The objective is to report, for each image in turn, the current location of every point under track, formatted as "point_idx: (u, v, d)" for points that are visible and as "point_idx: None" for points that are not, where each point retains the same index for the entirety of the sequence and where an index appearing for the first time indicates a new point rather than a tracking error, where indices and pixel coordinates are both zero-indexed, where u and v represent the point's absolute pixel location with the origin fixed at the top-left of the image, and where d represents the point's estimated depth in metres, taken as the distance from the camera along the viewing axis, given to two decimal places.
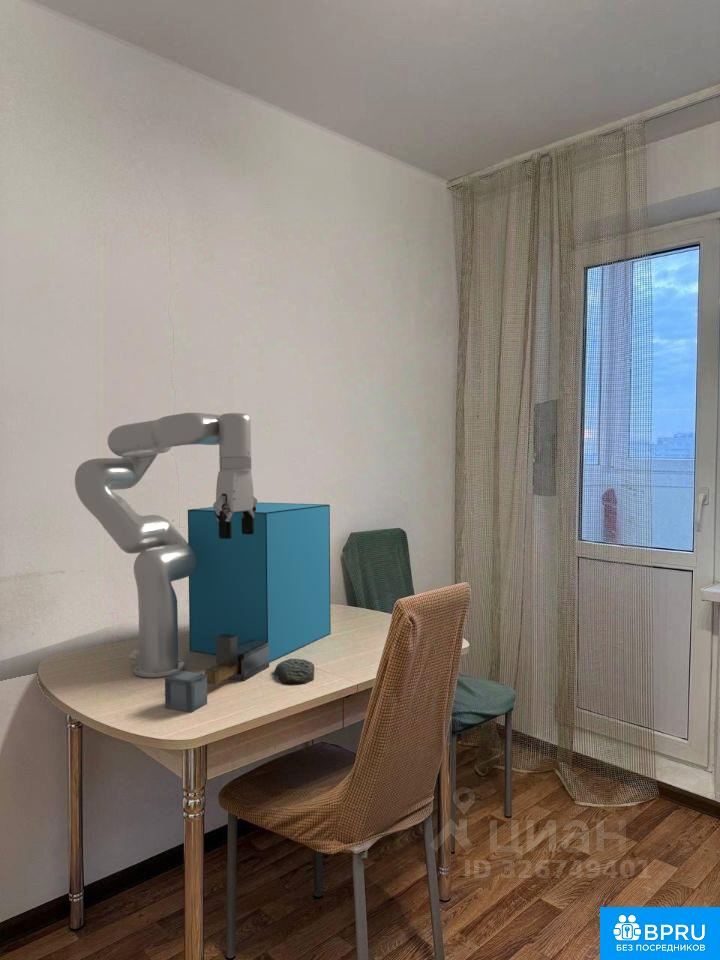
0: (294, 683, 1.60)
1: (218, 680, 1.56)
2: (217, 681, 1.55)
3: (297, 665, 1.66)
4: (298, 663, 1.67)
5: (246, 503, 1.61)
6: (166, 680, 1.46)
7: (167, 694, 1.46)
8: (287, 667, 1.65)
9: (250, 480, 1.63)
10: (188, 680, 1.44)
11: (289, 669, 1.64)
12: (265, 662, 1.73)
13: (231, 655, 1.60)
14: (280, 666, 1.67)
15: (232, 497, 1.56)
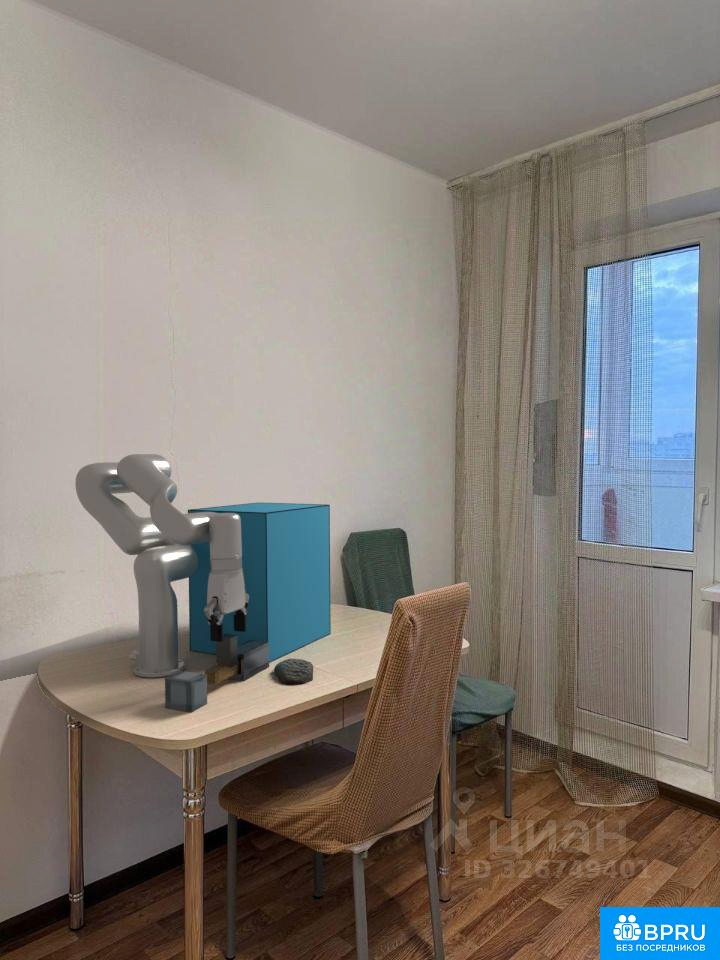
0: (293, 683, 1.60)
1: (218, 680, 1.56)
2: (217, 681, 1.55)
3: (296, 665, 1.66)
4: (297, 663, 1.67)
5: (238, 603, 1.61)
6: (166, 680, 1.46)
7: (167, 694, 1.46)
8: (286, 667, 1.65)
9: (241, 579, 1.62)
10: (188, 680, 1.44)
11: (288, 669, 1.64)
12: (265, 662, 1.73)
13: (231, 655, 1.60)
14: (279, 666, 1.67)
15: (223, 600, 1.56)
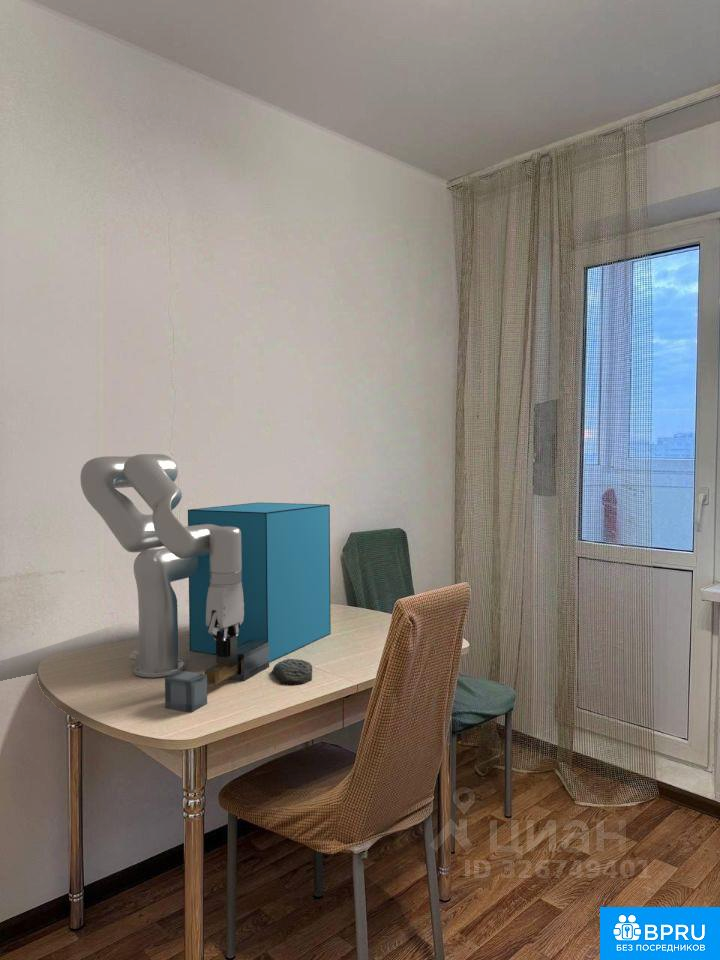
0: (292, 683, 1.60)
1: (218, 680, 1.56)
2: (217, 681, 1.55)
3: (295, 665, 1.66)
4: (296, 663, 1.67)
5: (236, 616, 1.61)
6: (166, 680, 1.46)
7: (167, 694, 1.46)
8: (285, 667, 1.64)
9: (241, 592, 1.63)
10: (188, 680, 1.44)
11: (287, 670, 1.63)
12: (265, 662, 1.73)
13: (231, 655, 1.60)
14: (278, 666, 1.67)
15: (222, 614, 1.56)
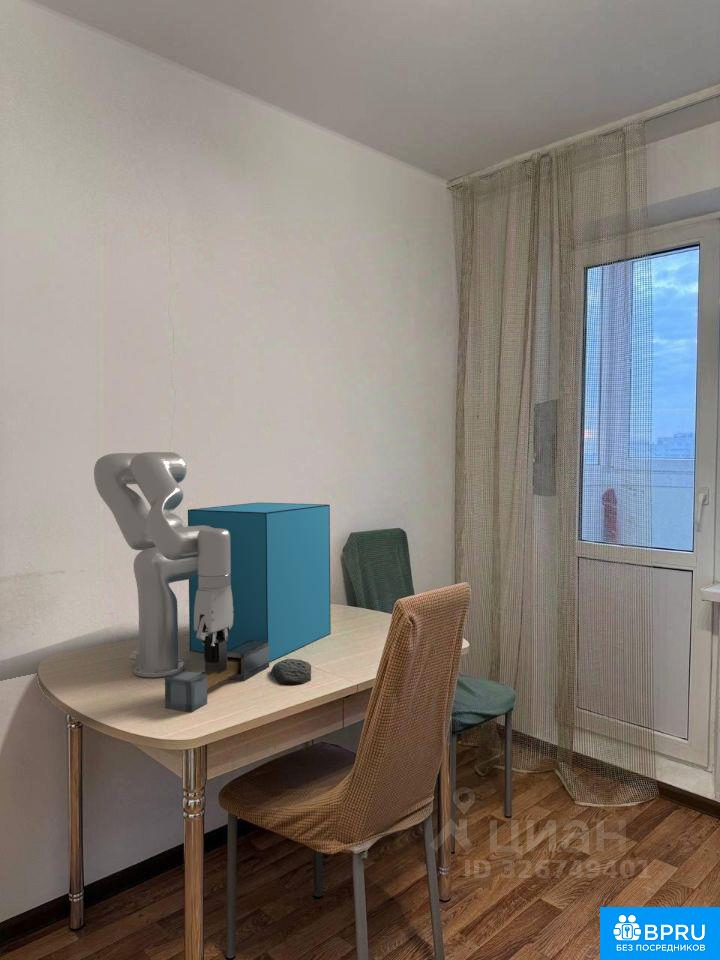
0: (292, 683, 1.60)
1: None
2: None
3: (294, 665, 1.66)
4: (295, 663, 1.67)
5: (225, 621, 1.57)
6: (166, 680, 1.46)
7: (167, 694, 1.46)
8: (284, 667, 1.64)
9: (230, 596, 1.58)
10: (188, 680, 1.44)
11: (286, 670, 1.63)
12: (265, 662, 1.73)
13: (220, 660, 1.55)
14: (277, 666, 1.66)
15: (210, 618, 1.52)
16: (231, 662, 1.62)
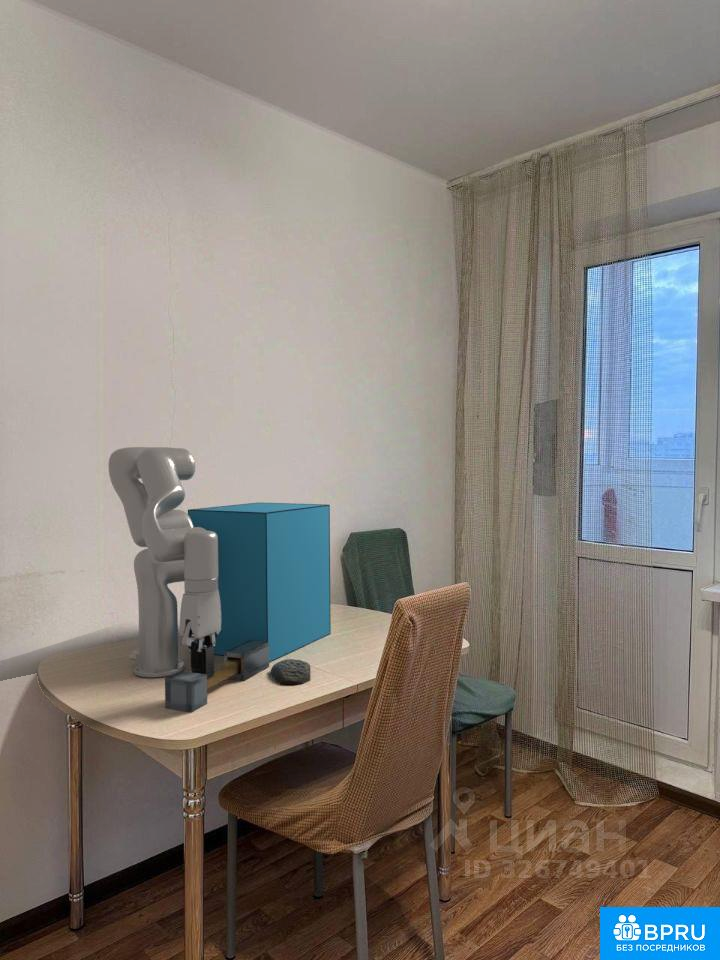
0: (291, 684, 1.60)
1: None
2: None
3: (293, 665, 1.66)
4: (294, 663, 1.67)
5: (212, 626, 1.52)
6: (166, 680, 1.46)
7: (167, 694, 1.46)
8: (283, 667, 1.64)
9: (217, 600, 1.54)
10: (188, 680, 1.44)
11: (285, 670, 1.63)
12: (265, 662, 1.73)
13: (207, 666, 1.51)
14: (276, 667, 1.66)
15: (196, 623, 1.47)
16: (219, 668, 1.57)
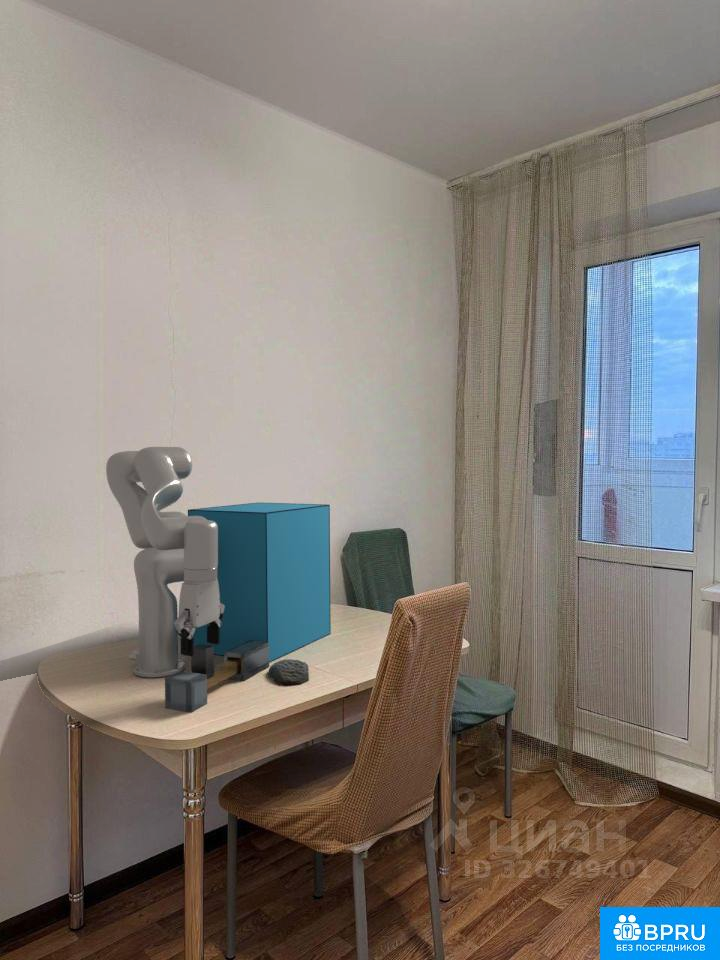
0: (290, 684, 1.60)
1: None
2: None
3: (291, 666, 1.65)
4: (292, 664, 1.66)
5: (211, 615, 1.53)
6: (166, 680, 1.46)
7: (167, 694, 1.46)
8: (281, 668, 1.64)
9: (216, 589, 1.54)
10: (188, 680, 1.44)
11: (283, 670, 1.63)
12: (265, 662, 1.73)
13: (207, 666, 1.51)
14: (274, 667, 1.66)
15: (195, 613, 1.47)
16: (219, 668, 1.57)
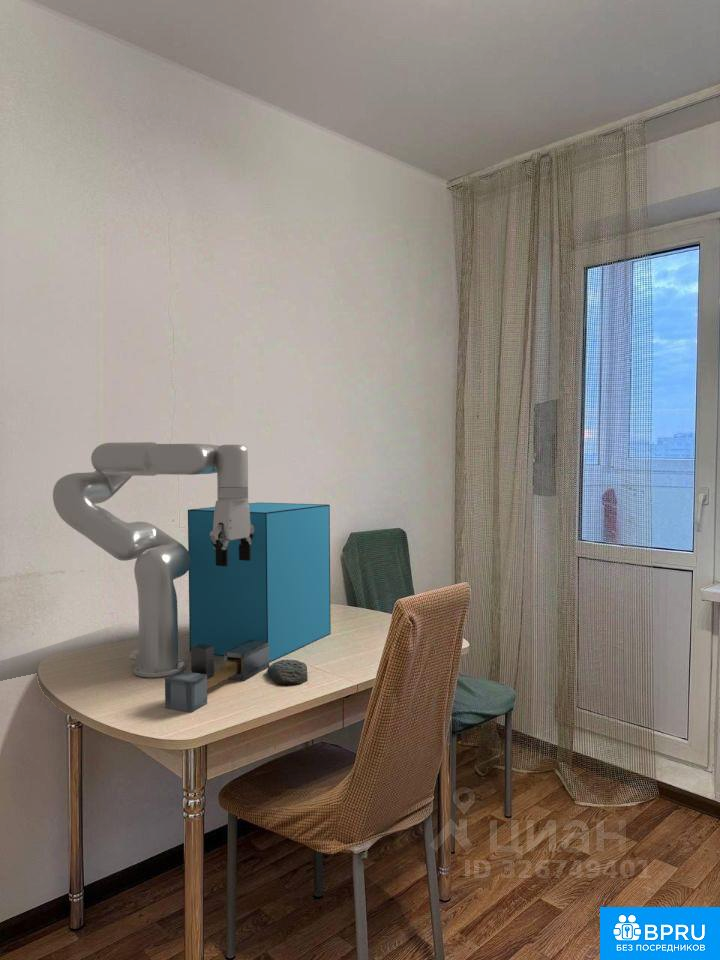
0: (289, 684, 1.59)
1: None
2: None
3: (290, 666, 1.65)
4: (291, 664, 1.66)
5: (243, 531, 1.67)
6: (166, 680, 1.46)
7: (167, 694, 1.46)
8: (280, 668, 1.64)
9: (247, 509, 1.68)
10: (188, 680, 1.44)
11: (282, 670, 1.63)
12: (265, 662, 1.73)
13: (207, 666, 1.51)
14: (273, 667, 1.66)
15: (228, 526, 1.62)
16: (219, 668, 1.57)
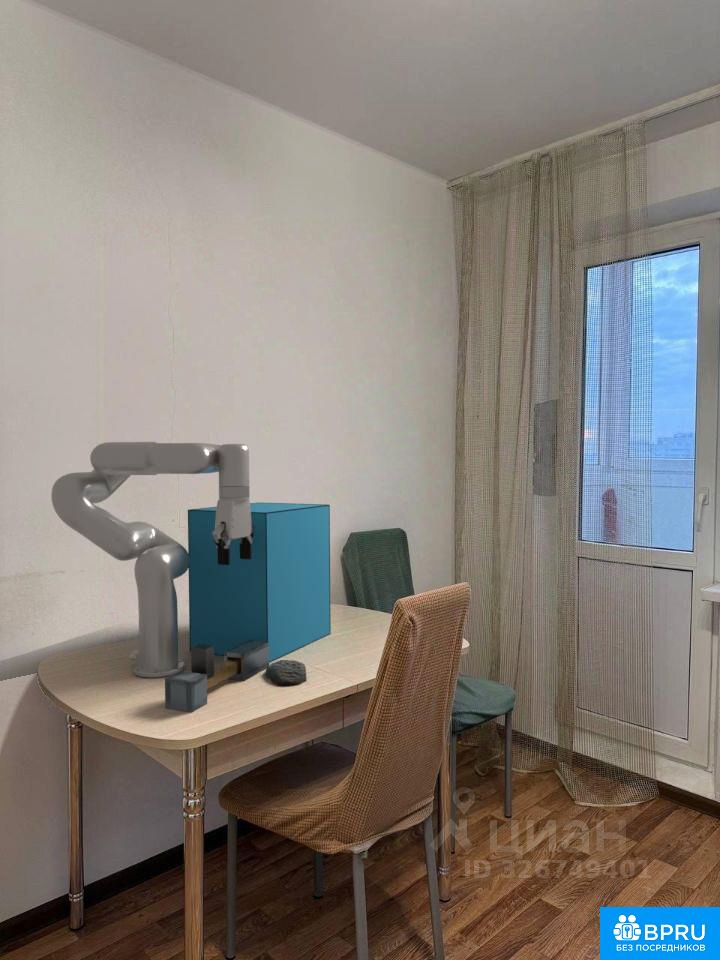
0: (288, 684, 1.59)
1: None
2: None
3: (289, 666, 1.65)
4: (290, 664, 1.66)
5: (244, 530, 1.68)
6: (166, 680, 1.46)
7: (167, 694, 1.46)
8: (279, 668, 1.64)
9: (248, 508, 1.69)
10: (188, 680, 1.44)
11: (281, 671, 1.62)
12: (265, 662, 1.73)
13: (207, 666, 1.51)
14: (271, 668, 1.66)
15: (230, 525, 1.63)
16: (219, 668, 1.57)
